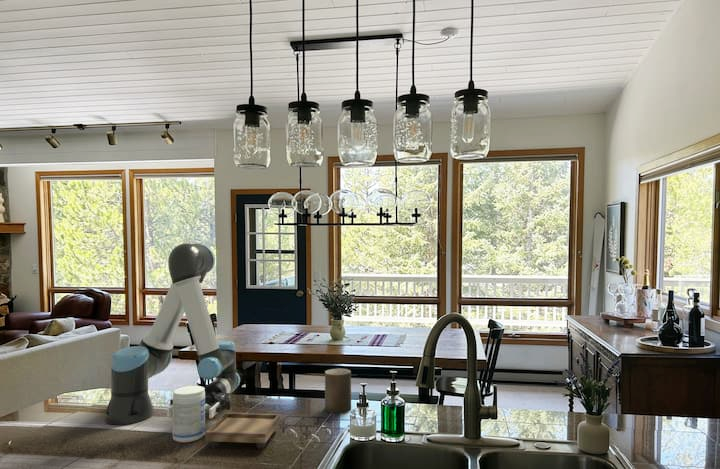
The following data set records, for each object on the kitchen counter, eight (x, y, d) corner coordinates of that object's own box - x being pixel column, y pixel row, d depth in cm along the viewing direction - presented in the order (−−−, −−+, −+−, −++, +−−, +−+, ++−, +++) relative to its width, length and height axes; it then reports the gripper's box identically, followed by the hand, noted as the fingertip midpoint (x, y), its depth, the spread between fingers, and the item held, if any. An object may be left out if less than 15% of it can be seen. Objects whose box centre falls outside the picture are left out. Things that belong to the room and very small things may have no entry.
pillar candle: (350, 413, 162) (350, 371, 163) (323, 413, 162) (323, 371, 163) (351, 404, 172) (351, 364, 172) (325, 404, 172) (325, 364, 172)
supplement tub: (208, 439, 140) (208, 391, 141) (176, 446, 135) (176, 396, 136) (200, 428, 149) (200, 383, 149) (169, 435, 143) (170, 388, 144)
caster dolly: (205, 449, 133) (205, 432, 133) (226, 428, 149) (226, 412, 149) (265, 451, 131) (265, 434, 132) (280, 429, 147) (280, 414, 148)
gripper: (250, 403, 161) (228, 426, 140) (182, 401, 163) (150, 424, 142) (250, 381, 161) (228, 401, 140) (182, 380, 163) (150, 400, 142)
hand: (189, 413), depth 141 cm, fingers open, 13 cm apart
